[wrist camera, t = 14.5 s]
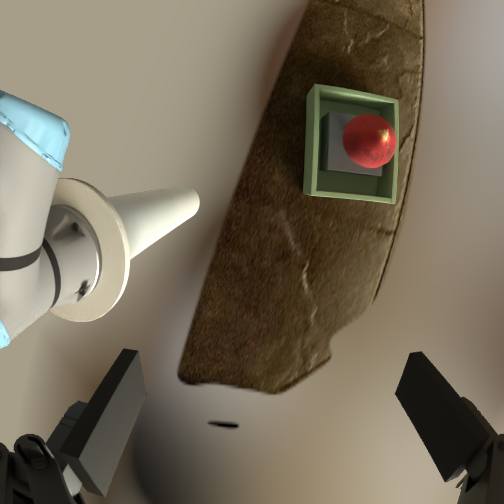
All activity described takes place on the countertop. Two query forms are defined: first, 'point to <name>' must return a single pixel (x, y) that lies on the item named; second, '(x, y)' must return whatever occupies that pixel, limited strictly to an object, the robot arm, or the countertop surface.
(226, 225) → the countertop surface
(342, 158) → the block
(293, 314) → the countertop surface
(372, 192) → the crate
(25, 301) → the robot arm
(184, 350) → the countertop surface
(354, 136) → the onion
